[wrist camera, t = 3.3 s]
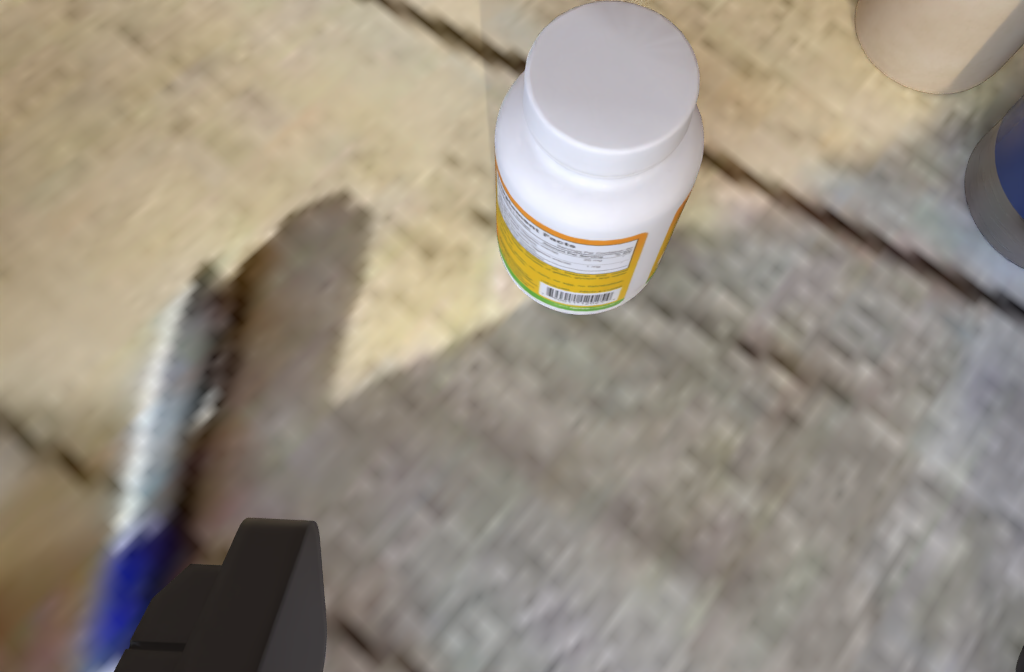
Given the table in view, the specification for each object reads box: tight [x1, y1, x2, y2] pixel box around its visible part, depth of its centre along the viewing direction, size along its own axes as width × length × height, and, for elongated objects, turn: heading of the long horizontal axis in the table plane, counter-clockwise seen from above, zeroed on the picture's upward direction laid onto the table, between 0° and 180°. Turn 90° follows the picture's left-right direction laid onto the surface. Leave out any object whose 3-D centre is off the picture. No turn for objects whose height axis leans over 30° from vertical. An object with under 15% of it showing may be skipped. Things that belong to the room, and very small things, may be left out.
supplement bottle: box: [495, 1, 704, 315], centre depth 25 cm, size 5×5×10 cm
